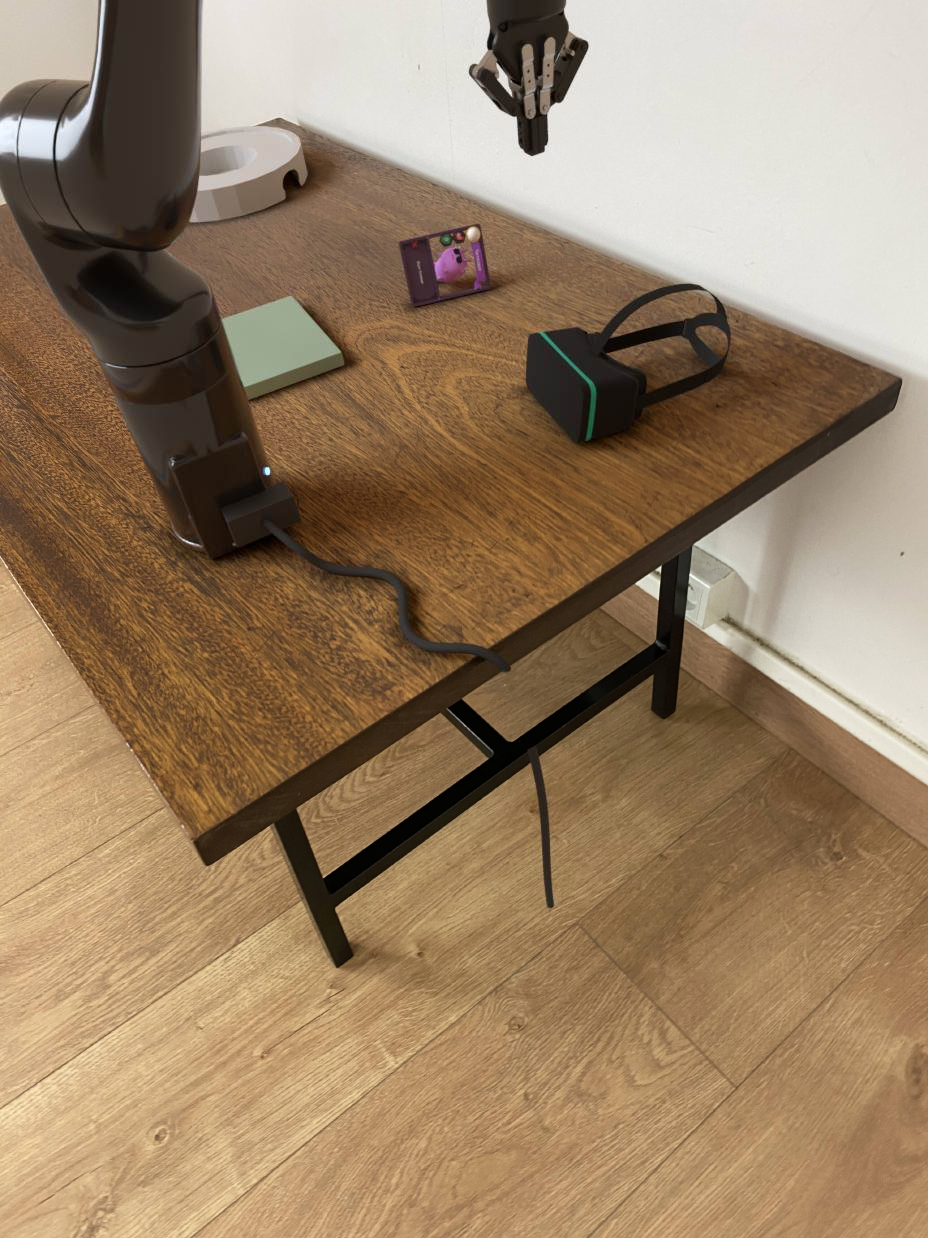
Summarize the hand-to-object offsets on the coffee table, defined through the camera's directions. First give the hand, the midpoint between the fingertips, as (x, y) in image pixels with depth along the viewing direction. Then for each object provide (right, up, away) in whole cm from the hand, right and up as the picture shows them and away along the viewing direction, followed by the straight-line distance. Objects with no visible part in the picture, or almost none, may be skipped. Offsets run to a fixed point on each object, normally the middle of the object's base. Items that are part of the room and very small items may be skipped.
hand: (534, 151), depth 95 cm
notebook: (-28, -21, 0) cm, 35 cm away
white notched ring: (-41, +12, +34) cm, 54 cm away
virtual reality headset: (+8, -28, -12) cm, 32 cm away
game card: (-9, -13, +5) cm, 17 cm away
